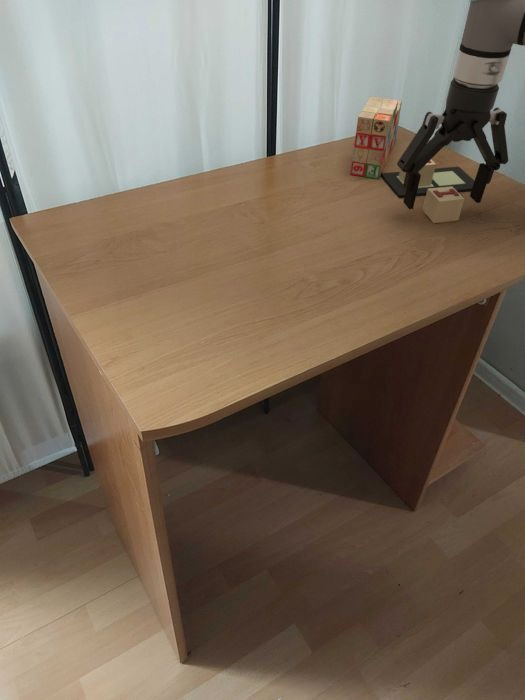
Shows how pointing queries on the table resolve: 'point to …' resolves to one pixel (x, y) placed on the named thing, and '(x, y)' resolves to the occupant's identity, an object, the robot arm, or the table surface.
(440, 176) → the word mat
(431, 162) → the cream cube
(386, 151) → the stack of blocks
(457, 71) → the robot arm
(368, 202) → the table surface
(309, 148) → the table surface
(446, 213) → the wooden letter block
